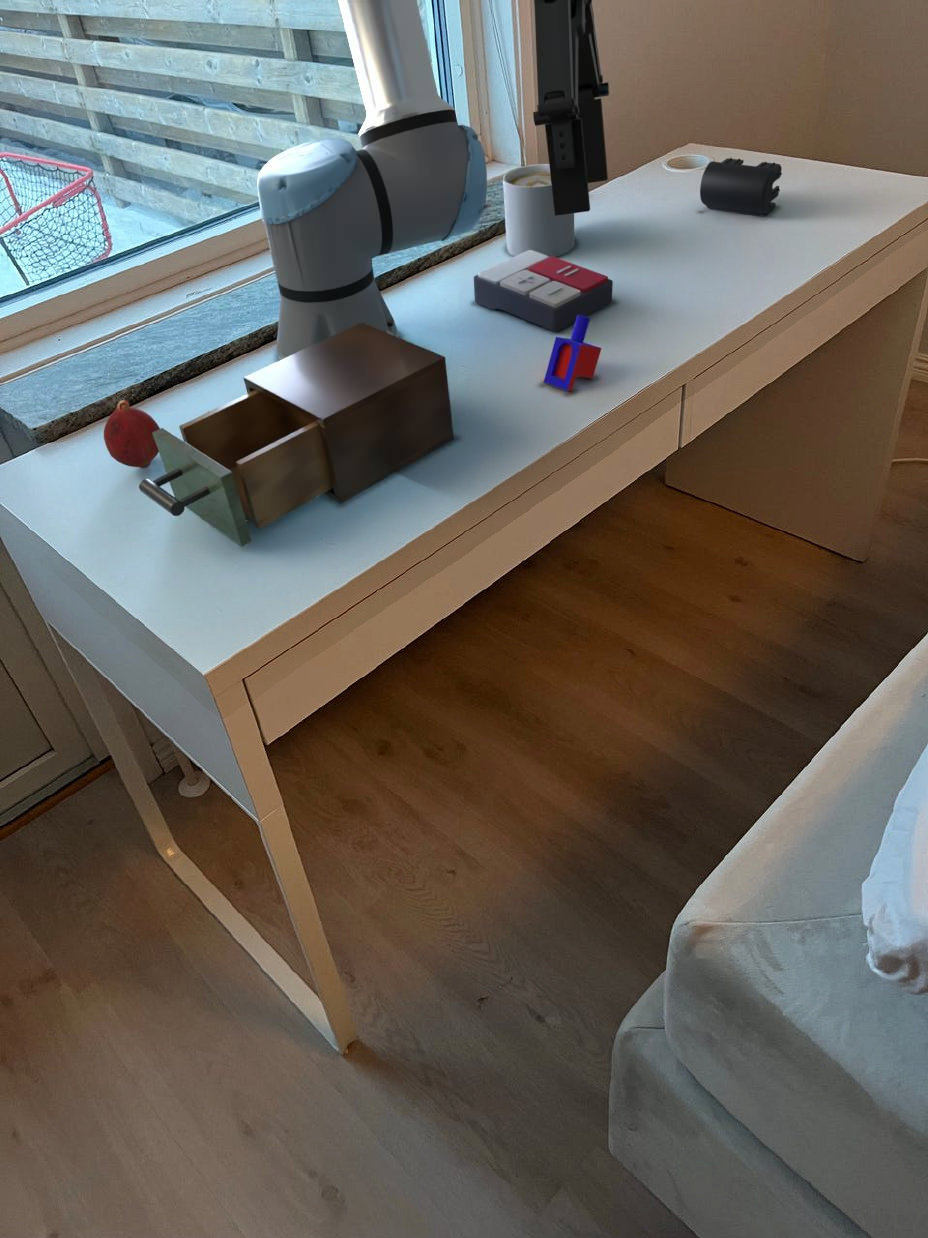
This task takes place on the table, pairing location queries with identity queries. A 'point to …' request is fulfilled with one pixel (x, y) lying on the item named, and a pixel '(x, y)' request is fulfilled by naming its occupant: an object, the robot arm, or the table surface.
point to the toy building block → (572, 357)
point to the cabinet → (365, 402)
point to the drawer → (241, 465)
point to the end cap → (740, 186)
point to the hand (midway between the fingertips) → (583, 196)
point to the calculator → (542, 289)
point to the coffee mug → (534, 213)
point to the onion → (131, 436)
